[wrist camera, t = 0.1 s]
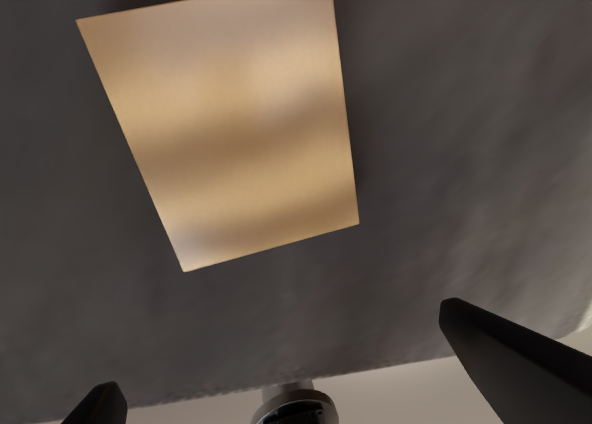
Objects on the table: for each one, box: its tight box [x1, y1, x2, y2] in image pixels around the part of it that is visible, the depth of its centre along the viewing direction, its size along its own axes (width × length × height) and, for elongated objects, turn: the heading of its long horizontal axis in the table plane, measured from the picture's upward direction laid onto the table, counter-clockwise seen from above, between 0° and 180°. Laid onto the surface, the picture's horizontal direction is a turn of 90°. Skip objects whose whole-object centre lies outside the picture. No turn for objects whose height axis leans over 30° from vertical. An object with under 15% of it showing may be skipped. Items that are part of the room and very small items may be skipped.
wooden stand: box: [76, 0, 359, 272], centre depth 18 cm, size 14×12×3 cm
